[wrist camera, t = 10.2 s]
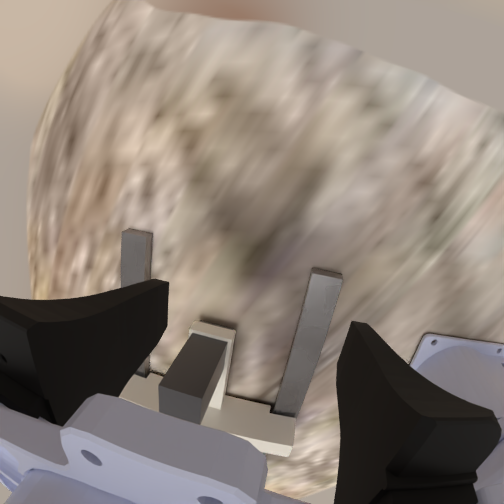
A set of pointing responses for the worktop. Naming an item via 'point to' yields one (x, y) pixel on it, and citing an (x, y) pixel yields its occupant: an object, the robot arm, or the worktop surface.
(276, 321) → the worktop surface
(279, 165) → the worktop surface
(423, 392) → the robot arm
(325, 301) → the rails
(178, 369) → the pusher bar
